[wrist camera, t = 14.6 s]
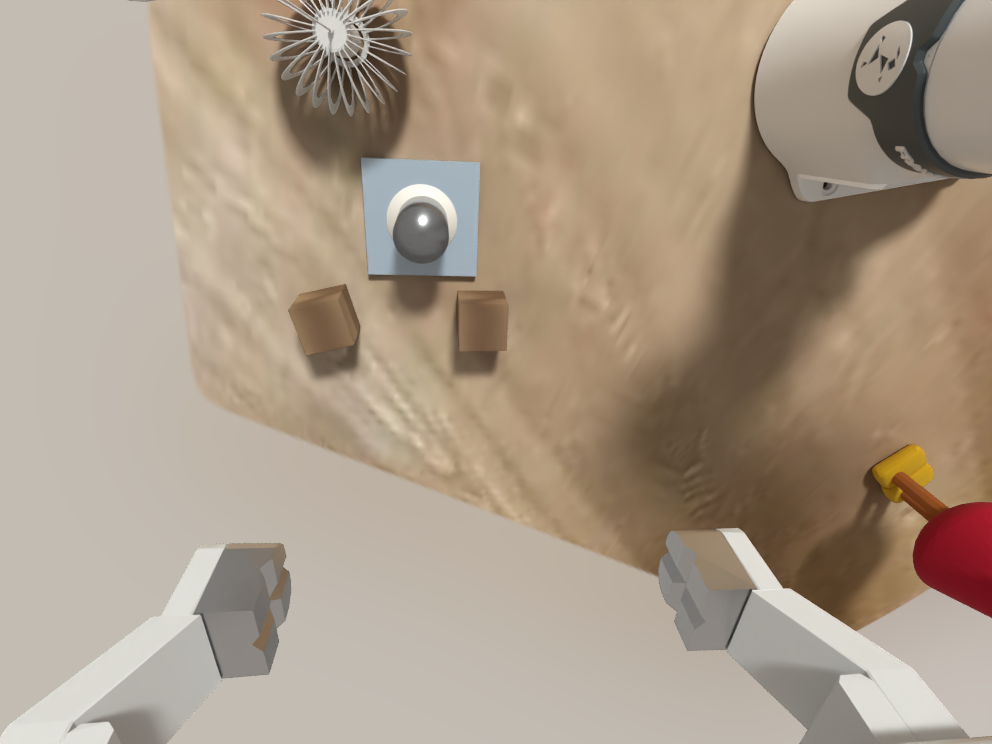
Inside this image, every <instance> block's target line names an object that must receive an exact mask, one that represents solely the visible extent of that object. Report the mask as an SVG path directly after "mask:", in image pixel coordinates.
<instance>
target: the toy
mask: <svg viewBox="0 0 992 744" xmlns="http://www.w3.org/2000/svg"><path fill="white" fill-rule="evenodd" d="M872 472H873V475H874V478H875V479H876V480H877V481H878V482H879V483H880V484H881V488H882V491H883V493H884V495H885V496H886V497H887V498H888V499H890V500H891V501H892V502H894V503H900V502H902V501H905V502H906V503H908V504H909V505H910V506H911V507H912V508H913V509H915V510H916V511H917V512H918V513H919V514H921V515H922V516H923V517H924V518H925V519H926V520H928V521H929V522H928V523H927V524H926V525H925V526H924V527H923V529H922V530H921V532H920V533H919V535H918V537H917V539H916V541H915V546H914V551H913V563H914V568H915V571H916V573H917V575H918V576H919V578H920V579H921V580H922V581H923V582H924V583H925V584H927V585H928V586H930V587H931V588H933V589H935V590H937V591H939V592H941V593H943V594H945V595H947V596H949V597H951V598H953V599H955V600H957V601H959V602H961V603H963V604H965V605H967V606H969V607H971V608H973V609H975V610H977V611H979V612H981V613H983V614H985V615H987V616H989V617H991V618H992V503H990V502H975V503H967V504H961V505H958V506H955V507H952V508H950V509H949V508H948V507H947V506H946V505H944V504H943V503H942V502H941V501H939V500H938V499H937V498H936V497H934V496H933V495H932V494H931V493H929V492H928V491H927V490H926V489H924V488H923V487H924V486H925V485H927V484H928V483H929V482H930V481H931V480H932V479H933V478H934V472H933V468H932V467H931V466H930V465H929V464H928V463H926V456H925V452H924V451H923V450H922V449H921V448H920V447H919V446H917V445H914V444H911V445H908V446H906V447H905V448H903V449H901V450H900V451H898V452H896V453H895V454H893V455H892V456H890V457H888V458H887V459H885V460H883V461H882V462H880V463H879V464H877V465H875V466H874V467H873V468H872Z"/></svg>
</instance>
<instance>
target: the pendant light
mask: <svg viewBox="0 0 992 744" xmlns="http://www.w3.org/2000/svg"><path fill="white" fill-rule="evenodd" d="M130 1H143V2H147V1H154V0H130ZM277 1H279V2H281V3H282V4H284V5H286V6H287V7H289V8H291V9H292V10H294V11H296V12H297V13H299V14H301V15H303V16H304V17H306V18H308V19H309V20H311V21H312V24H309V23H305V22H301V21H297V20H293V19H289V18H285V17H281V16H276V15H272V14H266V13H261V15H262V16H264V17H266V18H269V19H272V20H275V21H278V22H281V23H284V24H287V25H290V26H293V27H297V28H300V29H303V30H301V31H286V32H276V33H269V34H265V35H263V38H264V39H267V40H273V41H283V42H296V43H294V44H291V45H289V46H287V47H285V48H283V49H281V50H279V51H277V52H275V53H274V54H273V55H271V57H270V60H272V61H283V60H289V59H294V58H296V59H295V60H294V61H293V62H291V64H290V65H289V66H288V67H287V68H286V69H285V70H284V72H283V73H282V75H281V78H282V80H289V79H292V78H294V77H297V76H299V75H301V74H302V73H303V74H302V75H301V78H300V80H299V82H298V84H297V87H296V95H297V96H302V95H303V94H305V93H306V92H307V91H309V90H310V89H311V88H312V87H313V86H314V87H313V93H312V105H313V107H314V108H317V107H318V106H319V105H320V104H321V103H322V101H323V100H324V98H325V97H326V95H327V93H328V104H329V109H330V112H331V114H332V115H334V114H335V113H336V112H337V110H338V107H339V104H340V100H341V95H342V97H343V100H344V104H345V107H346V110H347V112H348V114H349V115H350V116H351V117H352V116H353V115H354V90H355V92H356V94H357V96H358V98H359V100H360V102H361V104H362V106H363V107H364V109H365V110H366V112H367V113H370V106H369V101H368V97H367V94H366V91H365V88H364V85H363V82H362V79H361V77H362V78H363V80H364V81H365V82H366V84H367V85H368V86H369V88H370V89H371V91H372V92H373V93H374V94H375V96H376V97H377V98H378V99H379V101H380V102H381V103H382V104H383V105H385V101H384V99H383V97H382V95H381V93H380V92H379V90H378V88H377V86H376V85H375V83H374V81H373V80H372V78H371V77H370V75H369V73H368V72H367V70H366V69H365V67H364V66H363V64H362V62H364V63H365V64H366V65H367V66H368V67H369V68H370V69H371V70H372V71H374V70H373V69H372V68H371V67H370V66H369V65H368V64H367V63H366V62H365V61H364V60H366V61H367V62H368V63H369V64H370V65H371V66H372V67H373V68H374V69H375V70H376V71H377V72H379V71H378V70H377V69H376V68H375V67H374V66H373V65H372V64H371V63H370V62H369V61H368V60H367V59H366V57H367V55H368V54H370V55H371V56H373V57H375V58H377V59H378V60H380V61H382V62H383V63H385V64H387V65H389V66H390V67H392V68H394V69H396V70H397V71H399V72H401V73H403V74H405V73H404V72H402V71H401V70H399V69H397V68H396V67H394V66H392V65H391V64H389V63H387V62H386V61H384V60H382V59H380V58H379V57H377V56H375V55H374V54H372V53H370V52H369V48H370V47H371V48H374V49H378V50H382V51H386V52H390V53H395V54H400V55H405V56H412V54H410V53H408V52H406V51H403V50H400V49H397V48H394V47H391V46H388V45H385V44H381V43H378V42H375V41H371V40H387V39H397V38H403V37H408V36H411V35H412V32H410V31H407V30H400V29H381V28H383V27H386V26H388V25H390V24H392V23H394V22H396V21H398V20H399V19H401V18H403V17H404V16H405V15H406V14H407V13H408V11H407V9H394V10H389V11H385V12H383V11H384V10H385V9H386V8H387V7H388V6H389V5H390V4H391V3H392V1H393V0H388V2H387V3H386V5H385V6H384V7H383V8H382V9H381V10H380V11H379V12H378V13H377V14H374V15H371V16H367V17H364V16H365V14H366V13H367V11H368V10H369V8H370V6H371V5H372V3H373V1H375V0H369V1H367V2H366V3H364V4H363V5H361V6H360V7H359V4H360V1H361V0H358V3H357V6H356V9H355V11H353V12H352V13H351V14H350V13H349V12H350V6H351V4H352V3H353V2H354V0H348V4H347V6H346V7H345V9H344V10H343V9H342V3H343V0H339V5H338V8H337V10H335V0H330V2H331V4H332V8H329V3H328V0H326V6H327V8H326V7H325V6H324V4H323V3H322V1H321V0H319V3H320V5H321V8H322V9H321V10H320V11H319V9H318V8H317V6H316V5H315V3H314V1H313V0H311V2H312V3H313V5H314V6H315V8H316V9H317V11H318V12H317V11H316V10H315V9H314V8H313V7H312V6H311V5H310V4H309V3H308V2H307V1H306V0H304V1H305V2H306V3H307V4H308V5H309V6H310V7H311V8H312V9H313V10H314V11H315V12H316V14H315V13H314V12H313V11H312V10H311V9H310V8H309V7H308V6H307V5H306V4H305V3H304V2H302V1H301V0H299V1H300V2H301V3H302V4H304V5H305V6H306V7H307V8H308V9H309V10H310V11H311V12H312V13H313V14H314V15H315V16H314V18H313V17H312V16H310V15H309V14H307V13H306V12H304V11H303V10H301V9H300V8H298V7H297V6H295V5H294V4H292V3H291V2H289V1H288V0H283V1H284V2H286V3H287V4H286V3H284V2H283V1H281V0H277ZM288 4H289V5H288ZM367 5H368V6H367ZM291 6H292V7H291ZM366 6H367V8H366V10H365V11H364V13H363V14H362V16H361V17H360V19H358V18H357V17H356V14H357V12H359V11H360V10H361V9H363V8H364V7H366ZM340 9H341V12H339V11H340ZM346 11H347V12H346ZM386 14H398V15H397V17H396V18H395V19H393V20H392V21H390V22H388V23H386V24H384V25H382V26H380V27H377V28H366V26H367V25H368V24H369V23H371V22H372V21H373V20H374V19H375V18H377V17H378V16H382V15H386ZM273 17H274V18H273ZM363 17H364V18H363ZM275 18H280V19H285V20H289V21H293V22H298V23H301V24H305V25H309V26H312V30H309V29H305V28H302V27H298V26H295V25H292V24H289V23H286V22H283V21H280V20H278V19H275ZM371 18H372V19H371ZM367 19H370V20H369V21H368V22H367V23H366V24H363V23H362V22H361V21H364V20H367ZM348 20H350V21H352V22H349V21H348ZM352 24H356V25H357V26H358V27H359V29H356V28H355V27H354V26H353V25H352ZM358 31H361V32H362V34H363V38H361V37H360V35H359V33H358ZM373 31H391V32H398V33H401V35H399V36H395V37H387V38H371V39H369V34H368V33H371V32H373ZM308 32H312V33H313V36H311V37H308V38H306V39H303V40H287V39H280V38H276V37H275V36H277V35H283V34H293V33H308ZM311 39H315V40H311ZM360 39H361V40H364V48H362V47H360V44H361V41H360ZM304 42H314V43H313V44H312V45H310V46H309V47H308V48H307V49H306V50H304V51H303V52H302V53H301V54H300V55H296V56H289V57H282V56H280V55H281V54H282V53H283V52H285V51H286V50H288V49H290V48H292V47H294V46H297V45H299V44H301V43H304ZM370 42H372V43H375V44H379V45H382V46H385V47H388V48H391V49H394V50H397V51H399V52H393V51H389V50H384V49H380V48H376V47H372V46H370ZM316 44H318V45H319V47H318V49H317V50H314V51H311V52H308V51H309V50H310V49H312V48H313V47H314V46H315V45H316ZM360 48H361V49H363V51H362V53H361V55H360V56H358V55H357V52H358V51H359V49H360ZM321 50H323V53H322V56H321V59H319V60H318V61H317V62H315V63H314V64H312V62H313V61H314V59H315V57H316V56H317V54H318V53H319V51H321ZM307 52H308V53H307ZM312 53H314V55H313V56H312V58H311V60H310V61H309V63H308V65H307V66H306V68H305V69H304V70H302V71H299V72H296V73H290V70H291V69H292V67H293V66H294V65H295V63H296V62H297V61H298V60H299V59H300V58H302V57H303V56H306V55H309V54H312ZM325 54H326V55H325ZM337 55H338V56H340V57H341V59H339V58H338V57H337ZM354 55H357V56H358V58H357V59H355V60H352V59H351V58H350V57H353V56H354ZM327 56H328V65H327V66H326V68H325V69H324V70H323V72H322V73H321V74H320V71H321V67H322V63H323V60H324V59H325V58H326V57H327ZM344 58H349V59H350V61H345V60H344ZM319 62H320V63H319ZM332 62H335V63H336V68H335V70H334V73H333V76H332V78H331V81H330V68H331V64H332ZM318 63H319V67H318V70H317V74H316V78H315V81H314V82H312V83H311V84H310V85H308V86H307V87H303V86H302V84H303V80H304V78H305V75H306V73H307V71H308V70H309V69H311V68H312V67H314V66H315V65H317V64H318ZM311 64H312V65H311ZM360 64H361V65H362V67H363V68H364V70H365V71H366V73H367V74H368V76H369V78H370V79H371V81H372V83H373V84H374V86H375V88H376V90H377V92H378V94H377V93H376V92H375V91H374V90H373V89H372V87H371V86H370V85H369V83H368V82H367V81H366V79H365V78H364V76H363V75H362V74H361V72H360V71H359V69H358V68H357V66H358V65H360ZM339 66H343V71H342V80H341V76H340V71H339ZM352 67H355V68H356V70H357V73H358V75H359V78H360V81H361V84H362V87H363V90H364V94H365V102H364V101H363V100H362V98H361V96H360V95H359V93H358V91H357V89H356V87H355V84H354V82H353V78H352V71H351V68H352ZM348 68H349V70H350V73H349V71H348ZM327 69H328V81H327V84H328V87H327V89H326V90H325V92H324V93H323V95H322V96H321V97H319V98H318V97H317V84H318V80H319V79H320V78H321V77H322V76H323V74H324V73H325V72H326V70H327ZM345 69H346V71H347V74H348V76H349V78H350V81H351V87H352V102H351V105H349V104H348V102H347V100H346V97H345V94H344V90H343V82H344V73H345ZM376 71H374V72H375V73H376V74H377V75H378V76H379V77H380V78H381V79H382V80H383V81H384V82H386V83H387V84H388V85H389V86H390V87H391V88H392V89H394V90H395V91H396V92H398V91H397V89H396V88H395V87H394V86H393V85H392V84H391V83H390V82H389V81H388V80H387V79H386V78H385V77H384V76H383V75H382V74H381V73H380V72H379V74H380V75H381V76H382V77H383V78H384V79H385V80H384V79H383V78H382V77H381V76H380V75H379V74H378V73H377V72H376ZM336 72H337V74H338V79H339V84H340V92H339V96H338V99H337V101H336V103H335V104H333V102H332V98H331V89H330V87H331V84H332V82H333V80H334V77H335V74H336ZM360 75H361V76H360ZM405 75H407V74H405Z"/></svg>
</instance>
